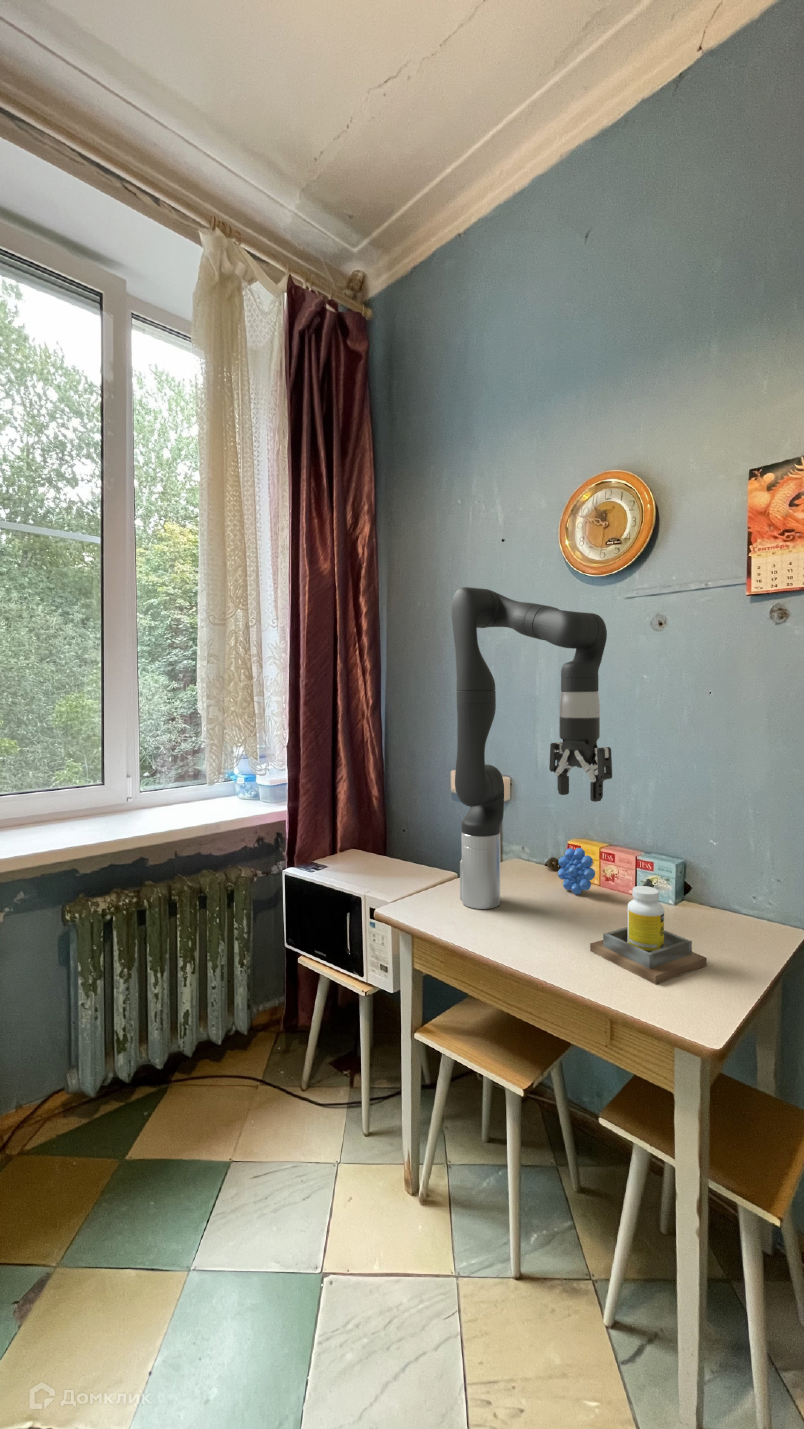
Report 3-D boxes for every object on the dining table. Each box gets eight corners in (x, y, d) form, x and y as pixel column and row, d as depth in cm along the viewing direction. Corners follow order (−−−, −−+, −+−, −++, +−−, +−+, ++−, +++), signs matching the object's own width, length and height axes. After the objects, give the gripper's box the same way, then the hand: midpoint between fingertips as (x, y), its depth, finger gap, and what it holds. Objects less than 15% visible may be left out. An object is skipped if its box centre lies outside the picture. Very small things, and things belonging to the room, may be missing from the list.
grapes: (606, 897, 144) (606, 849, 144) (587, 903, 141) (587, 853, 141) (570, 884, 155) (571, 839, 154) (551, 889, 151) (552, 842, 151)
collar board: (590, 950, 115) (590, 930, 115) (639, 936, 122) (639, 917, 122) (655, 984, 102) (655, 961, 102) (706, 965, 109) (706, 944, 109)
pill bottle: (661, 960, 108) (661, 898, 107) (624, 952, 111) (624, 892, 111) (666, 947, 113) (666, 887, 113) (630, 940, 117) (631, 882, 116)
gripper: (622, 715, 110) (621, 801, 111) (567, 713, 123) (567, 790, 123) (593, 717, 107) (592, 805, 107) (539, 714, 119) (539, 794, 120)
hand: (579, 797), depth 115 cm, fingers open, 8 cm apart
